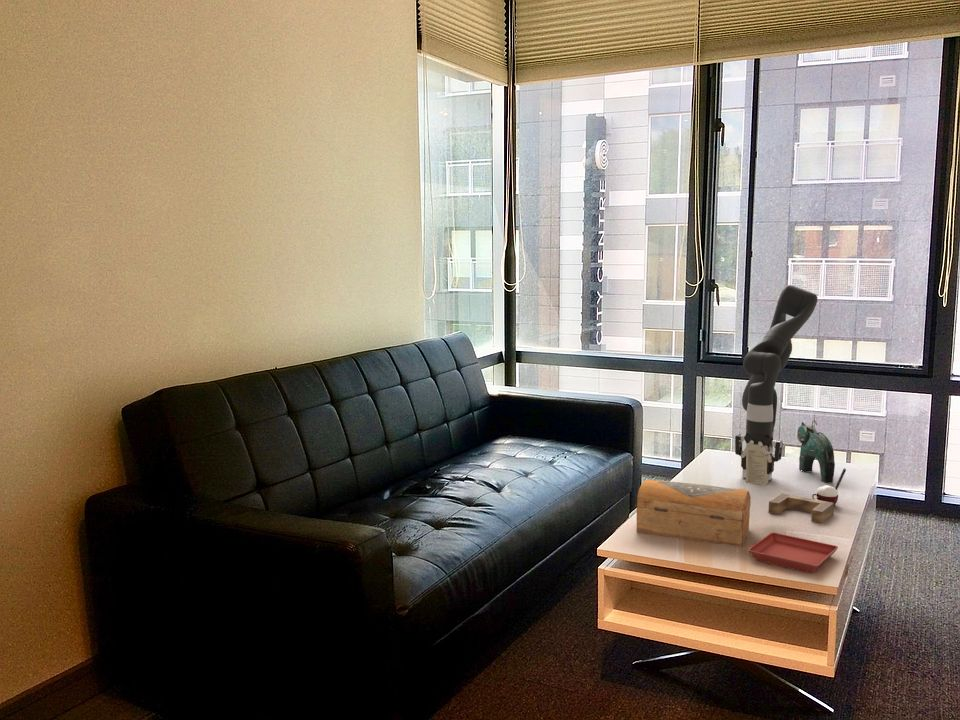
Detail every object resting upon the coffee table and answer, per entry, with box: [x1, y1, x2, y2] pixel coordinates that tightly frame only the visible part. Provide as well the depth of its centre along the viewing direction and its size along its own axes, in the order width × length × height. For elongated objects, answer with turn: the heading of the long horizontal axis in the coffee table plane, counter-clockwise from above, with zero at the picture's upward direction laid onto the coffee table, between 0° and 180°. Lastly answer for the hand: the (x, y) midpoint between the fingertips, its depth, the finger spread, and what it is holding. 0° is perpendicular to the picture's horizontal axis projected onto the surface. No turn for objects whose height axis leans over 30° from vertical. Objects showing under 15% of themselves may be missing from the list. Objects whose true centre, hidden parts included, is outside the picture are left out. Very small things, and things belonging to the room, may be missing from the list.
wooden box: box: [635, 479, 752, 547], centre depth 237 cm, size 30×16×14 cm, turn 64°
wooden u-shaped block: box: [768, 493, 835, 524], centre depth 252 cm, size 16×11×4 cm
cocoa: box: [811, 467, 847, 506], centre depth 259 cm, size 10×6×12 cm, turn 55°
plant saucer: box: [747, 532, 839, 574], centre depth 216 cm, size 18×18×3 cm
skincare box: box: [745, 443, 769, 486], centre depth 247 cm, size 6×4×12 cm
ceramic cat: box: [796, 419, 836, 484], centre depth 292 cm, size 20×6×20 cm, turn 6°
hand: (757, 471), depth 247 cm, fingers closed on skincare box, 7 cm apart
